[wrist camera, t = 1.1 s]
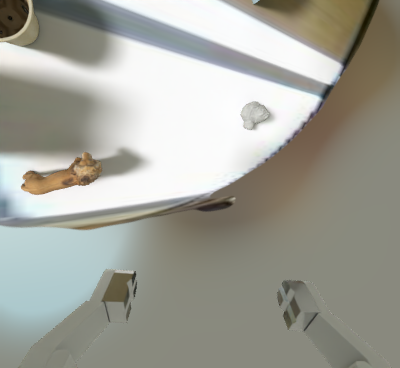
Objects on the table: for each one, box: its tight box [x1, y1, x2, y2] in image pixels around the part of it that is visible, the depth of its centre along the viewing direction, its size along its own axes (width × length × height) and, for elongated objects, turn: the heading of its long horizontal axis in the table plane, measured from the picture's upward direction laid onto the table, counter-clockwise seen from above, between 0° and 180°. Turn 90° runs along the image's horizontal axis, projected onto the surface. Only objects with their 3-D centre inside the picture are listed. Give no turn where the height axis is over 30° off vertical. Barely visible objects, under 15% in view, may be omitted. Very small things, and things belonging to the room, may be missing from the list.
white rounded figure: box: [240, 102, 269, 130], centre depth 44 cm, size 5×7×8 cm
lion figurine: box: [21, 152, 102, 195], centre depth 32 cm, size 15×5×9 cm, turn 110°
